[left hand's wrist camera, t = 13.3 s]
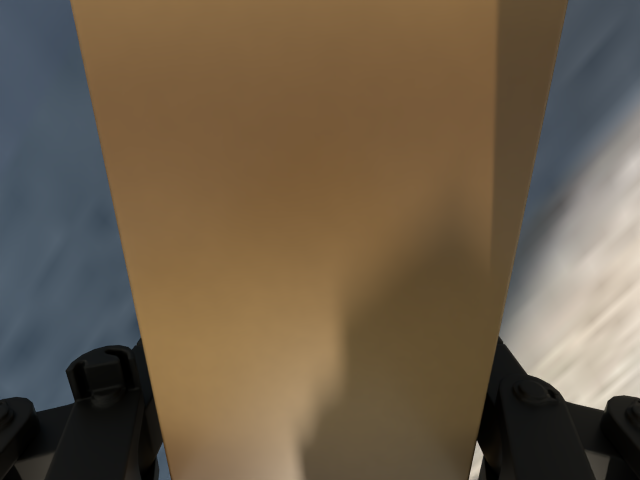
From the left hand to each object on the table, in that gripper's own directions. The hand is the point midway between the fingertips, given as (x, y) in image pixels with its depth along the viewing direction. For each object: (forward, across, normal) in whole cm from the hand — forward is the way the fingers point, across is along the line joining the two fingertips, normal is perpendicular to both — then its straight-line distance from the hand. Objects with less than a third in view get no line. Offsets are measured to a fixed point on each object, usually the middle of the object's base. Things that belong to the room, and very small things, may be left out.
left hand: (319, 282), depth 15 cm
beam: (0, 0, -20) cm, 20 cm away
